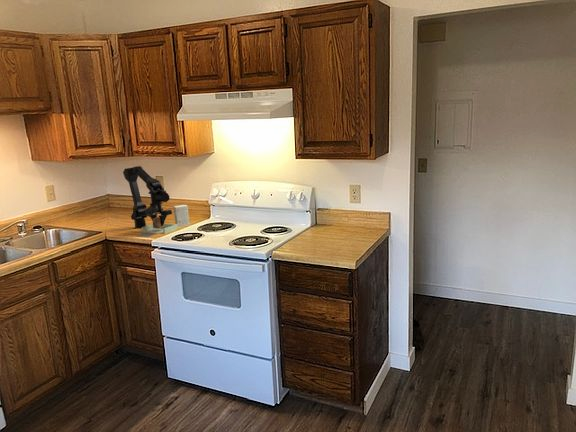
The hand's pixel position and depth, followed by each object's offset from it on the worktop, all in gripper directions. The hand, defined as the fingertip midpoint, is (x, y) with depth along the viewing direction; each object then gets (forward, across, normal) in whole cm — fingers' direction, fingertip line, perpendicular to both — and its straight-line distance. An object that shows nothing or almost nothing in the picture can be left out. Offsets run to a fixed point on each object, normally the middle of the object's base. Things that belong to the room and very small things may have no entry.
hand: (158, 225), depth 294 cm
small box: (+4, +5, +17) cm, 18 cm away
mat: (+4, 0, -11) cm, 12 cm away
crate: (+4, 0, +1) cm, 4 cm away
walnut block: (+1, 0, 0) cm, 1 cm away
